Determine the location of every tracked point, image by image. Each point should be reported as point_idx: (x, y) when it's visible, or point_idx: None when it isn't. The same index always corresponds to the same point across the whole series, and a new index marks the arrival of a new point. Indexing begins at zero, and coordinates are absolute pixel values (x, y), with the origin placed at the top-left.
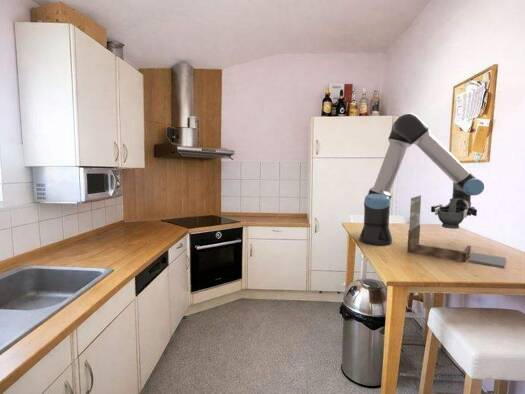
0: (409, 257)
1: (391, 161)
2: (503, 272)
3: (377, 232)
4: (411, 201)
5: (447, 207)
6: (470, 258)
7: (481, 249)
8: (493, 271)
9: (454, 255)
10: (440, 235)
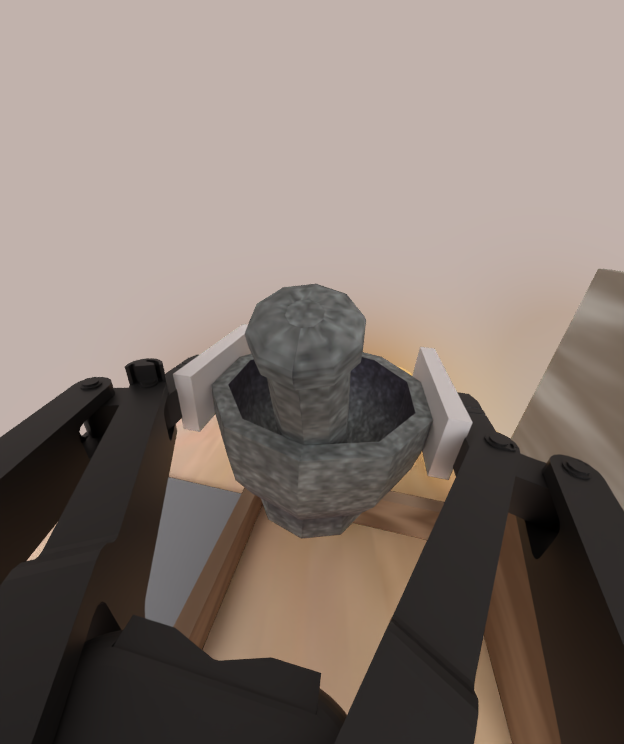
0: (426, 470)
1: None
2: (181, 442)
3: None
4: (590, 296)
5: (395, 614)
6: (228, 516)
7: None
8: (206, 441)
9: None
10: None
